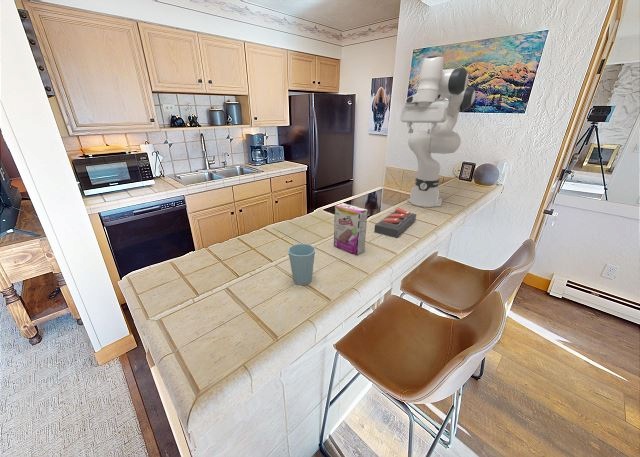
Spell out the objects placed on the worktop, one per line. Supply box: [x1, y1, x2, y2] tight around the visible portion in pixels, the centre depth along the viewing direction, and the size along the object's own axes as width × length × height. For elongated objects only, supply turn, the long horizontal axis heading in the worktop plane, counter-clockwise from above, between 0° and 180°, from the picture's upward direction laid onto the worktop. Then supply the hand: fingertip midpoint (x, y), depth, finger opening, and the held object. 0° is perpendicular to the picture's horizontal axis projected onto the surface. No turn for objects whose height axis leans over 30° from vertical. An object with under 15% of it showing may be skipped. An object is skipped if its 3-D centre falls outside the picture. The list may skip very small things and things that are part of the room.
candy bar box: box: [333, 202, 369, 256], centre depth 96 cm, size 11×5×16 cm, turn 47°
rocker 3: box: [394, 207, 411, 215], centre depth 123 cm, size 3×6×1 cm, turn 54°
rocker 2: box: [389, 213, 405, 218], centre depth 118 cm, size 3×6×1 cm, turn 54°
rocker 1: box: [383, 218, 399, 223], centre depth 113 cm, size 3×6×1 cm, turn 54°
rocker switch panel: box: [373, 210, 417, 239], centre depth 120 cm, size 28×10×4 cm, turn 144°
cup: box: [287, 243, 316, 286], centre depth 78 cm, size 8×8×10 cm
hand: (419, 133), depth 117 cm, fingers open, 8 cm apart
